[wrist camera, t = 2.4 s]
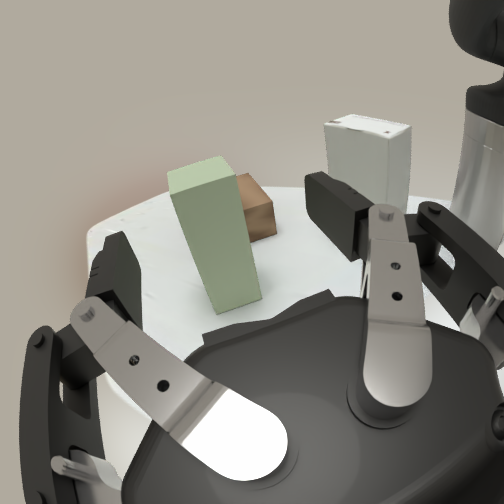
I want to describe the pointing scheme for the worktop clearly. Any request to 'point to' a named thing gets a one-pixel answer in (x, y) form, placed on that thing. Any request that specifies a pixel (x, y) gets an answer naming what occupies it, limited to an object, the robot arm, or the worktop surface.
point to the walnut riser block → (256, 208)
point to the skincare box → (371, 157)
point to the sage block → (216, 231)
